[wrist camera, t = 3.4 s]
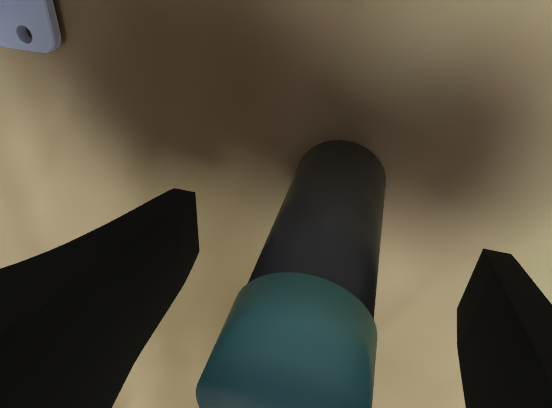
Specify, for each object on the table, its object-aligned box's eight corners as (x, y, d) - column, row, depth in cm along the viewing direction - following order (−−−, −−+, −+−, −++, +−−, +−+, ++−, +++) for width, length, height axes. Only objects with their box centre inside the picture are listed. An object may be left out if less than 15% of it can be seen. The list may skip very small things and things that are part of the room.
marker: (291, 209, 15) (200, 438, 8) (298, 130, 13) (190, 342, 7) (379, 226, 14) (354, 484, 8) (398, 146, 12) (386, 392, 6)
